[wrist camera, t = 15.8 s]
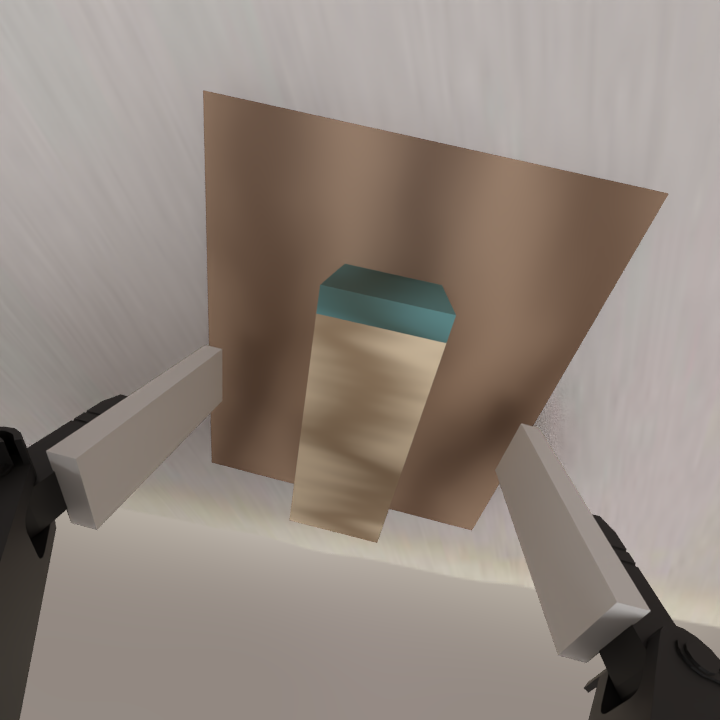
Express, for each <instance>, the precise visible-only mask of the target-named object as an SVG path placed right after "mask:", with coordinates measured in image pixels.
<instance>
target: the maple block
mask: <svg viewBox="0 0 720 720" xmlns="http://www.w3.org/2000/svg"><path fill="white" fill-rule="evenodd" d="M455 317H456V314H455V312H454V310H453V308H452V305H451V303H450V301H449V299H448V297H447V295H446V293H445V291H444V289H443V286H442V285H439V284H435V283H430V282H426V281H421V280H417V279H412V278H408V277H403V276H399V275H394V274H390V273H385V272H380V271H376V270H371V269H367V268H362V267H358V266H353V265H349V264H344V265H343V266H341V267H340V268H339V269H338V270H337V271H336V272H334V273H333V274H332V275H331V276H330V277H329V278H327V279H326V280H325V281H324V282H323V283H322V284H320V289H319V297H318V305H317V312H316V320H315V328H314V335H313V343H312V351H311V359H310V366H309V374H308V382H307V389H306V397H305V405H304V412H303V420H302V428H301V435H300V443H299V451H298V458H297V466H296V474H295V481H294V489H293V497H292V504H291V512H290V521H294V522H298V523H302V524H306V525H310V526H314V527H318V528H322V529H326V530H330V531H333V532H337V533H341V534H345V535H349V536H353V537H357V538H361V539H365V540H369V541H373V542H377V541H378V539H379V536H380V533H381V530H382V527H383V524H384V521H385V518H386V516H387V513H388V510H389V507H390V504H391V501H392V498H393V495H394V493H395V490H396V487H397V484H398V481H399V478H400V475H401V472H402V470H403V467H404V464H405V461H406V458H407V455H408V452H409V449H410V447H411V444H412V441H413V438H414V435H415V432H416V429H417V426H418V424H419V421H420V418H421V415H422V412H423V409H424V406H425V403H426V401H427V398H428V395H429V392H430V389H431V386H432V383H433V380H434V378H435V375H436V372H437V369H438V366H439V363H440V360H441V357H442V355H443V352H444V349H445V346H446V343H447V340H448V337H449V334H450V331H451V329H452V326H453V323H454V320H455Z"/></svg>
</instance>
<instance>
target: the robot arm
mask: <svg viewBox="0 0 720 720" xmlns="http://www.w3.org/2000/svg"><path fill="white" fill-rule="evenodd" d="M221 402H222V349H220V348H216V347H212V346H208V345H204V346H203V347H201V348H200V349H198V350H197V351H195V352H194V353H192V354H191V355H189V356H188V357H186V358H185V359H183V360H182V361H180V362H179V363H177V364H176V365H174V366H173V367H171V368H170V369H168V370H167V371H165V372H164V373H162V374H161V375H159V376H158V377H156V378H155V379H153V380H152V381H150V382H149V383H147V384H146V385H144V386H143V387H141V388H140V389H138V390H137V391H135V392H134V393H132V394H131V395H129V396H125V395H118V396H115V397H112V398H110V399H107V400H104V401H102V402H100V403H99V404H97V405H95V406H94V407H92V408H91V409H89V410H87V412H86V413H83V414H81V415H79V416H78V417H76V418H75V419H74V421H70V422H68V423H67V424H65V425H63V426H62V427H60V428H59V429H57V430H55V431H54V432H52V433H51V434H49V435H47V436H46V437H44V438H43V439H41V440H39V441H38V442H36V443H35V444H33V445H31V446H30V447H28V448H27V447H26V445H25V442H24V440H23V437H22V434H21V432H19V431H18V430H16V429H15V428H9V427H0V720H19V719H20V713H21V709H22V703H23V698H24V693H25V687H26V683H27V677H28V672H29V667H30V662H31V657H32V651H33V646H34V641H35V636H36V631H37V625H38V620H39V615H40V610H41V604H42V599H43V594H44V589H45V584H46V578H47V573H48V568H49V563H50V557H51V552H52V547H53V542H54V536H55V531H56V525H55V519H56V518H57V517H58V516H59V515H60V514H62V513H63V512H64V511H65V510H66V509H67V512H68V515H69V518H70V521H71V523H73V524H77V525H81V526H84V527H88V528H92V529H96V530H97V529H98V528H99V527H100V526H101V525H102V524H103V523H104V522H105V521H106V520H107V519H108V518H109V517H110V516H111V515H112V514H113V513H114V512H115V510H117V509H118V508H119V507H120V506H121V504H122V503H123V502H124V501H125V500H126V499H127V498H128V497H129V496H130V495H131V494H132V493H133V492H134V491H135V490H136V489H137V488H138V487H139V486H140V485H141V484H142V483H143V482H144V481H145V480H146V479H147V478H148V477H149V476H150V475H151V474H152V473H153V472H154V471H155V469H156V468H157V467H158V466H159V465H160V464H161V463H162V462H163V461H164V460H165V459H166V458H167V457H168V456H169V455H170V454H171V453H172V452H173V451H174V450H175V449H176V448H177V447H178V446H179V445H180V444H181V443H182V442H183V441H184V440H185V439H186V438H187V437H188V436H189V434H190V433H191V432H192V431H193V430H194V429H195V428H196V427H197V426H198V425H199V424H200V423H201V422H202V421H203V420H204V419H205V418H206V417H207V416H208V415H209V414H210V413H211V412H212V411H213V410H214V409H215V408H216V407H217V406H218V405H219V404H220V403H221ZM495 471H496V474H497V477H498V480H499V483H500V486H501V489H502V492H503V495H504V498H505V501H506V504H507V506H508V509H509V512H510V515H511V518H512V521H513V524H514V527H515V530H516V533H517V536H518V539H519V542H520V545H521V548H522V551H523V553H524V556H525V559H526V562H527V565H528V568H529V571H530V574H531V577H532V580H533V583H534V586H535V589H536V592H537V594H538V598H539V600H540V603H541V606H542V609H543V612H544V615H545V618H546V621H547V624H548V627H549V630H550V633H551V636H552V639H553V642H554V644H555V647H556V650H557V653H558V655H559V656H563V657H566V658H571V659H574V660H578V661H581V662H585V663H587V662H588V661H590V660H591V659H592V658H593V657H594V656H595V655H597V654H598V653H600V655H601V657H602V659H603V661H604V664H605V666H606V669H605V670H604V671H602V672H601V673H600V674H598V675H597V676H596V677H594V678H593V679H592V680H591V681H589V682H588V683H587V684H586V686H585V687H584V689H586V690H587V691H588V692H590V691H591V690H593V689H594V688H597V689H596V692H595V696H594V700H593V704H592V708H591V712H590V716H589V720H720V659H719V658H718V657H717V656H716V655H715V654H714V653H713V651H712V650H711V649H710V648H709V647H707V646H706V645H705V644H704V643H703V642H702V641H701V640H699V639H698V638H697V637H696V636H694V635H693V634H691V633H689V632H688V631H686V630H685V629H683V628H680V627H678V626H676V625H675V623H674V622H673V620H672V619H671V617H670V616H669V614H668V613H667V611H666V610H665V608H664V607H663V605H662V604H661V602H660V600H659V599H658V597H657V596H656V594H655V593H654V591H653V590H652V588H651V587H650V585H649V583H648V582H647V580H646V579H645V577H644V576H643V574H642V573H641V571H640V570H639V568H638V567H636V566H635V564H636V563H635V562H634V560H633V559H632V557H631V556H630V554H629V553H628V552H626V548H625V546H624V545H623V543H622V542H621V540H620V539H619V537H618V536H617V534H616V533H615V531H614V530H613V529H612V528H611V527H610V526H609V525H608V524H607V523H606V522H605V521H604V520H603V519H602V518H601V517H600V516H597V515H593V514H591V512H590V510H589V509H588V507H587V506H586V504H585V502H584V501H583V499H582V497H581V496H580V494H579V492H578V491H577V489H576V488H575V486H574V484H573V483H572V481H571V479H570V478H569V476H568V474H567V473H566V471H565V469H564V468H563V466H562V465H561V463H560V461H559V460H558V458H557V456H556V455H555V453H554V451H553V450H552V448H551V446H550V445H549V443H548V442H547V440H546V438H545V437H544V435H543V433H542V432H541V430H540V428H537V427H533V426H529V425H525V424H521V425H520V426H519V428H518V430H517V432H516V434H515V435H514V437H513V439H512V441H511V442H510V444H509V446H508V448H507V450H506V451H505V453H504V455H503V457H502V459H501V460H500V462H499V464H498V466H497V467H496V469H495Z"/></svg>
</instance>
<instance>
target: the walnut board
mask: <svg viewBox="0 0 720 720" xmlns="http://www.w3.org/2000/svg"><path fill="white" fill-rule="evenodd" d="M203 102H204V146H205V189H206V233H207V276H208V319H209V346H212V347H216V348H220V349H222V402H221V403H220V404H219V405H218V406H217V407H216V408H215V409H214V410H213V411H212V412H211V450H212V463H216V464H220V465H224V466H228V467H232V468H235V469H239V470H243V471H247V472H251V473H255V474H258V475H262V476H266V477H270V478H274V479H278V480H281V481H285V482H289V483H293V484H294V481H295V474H296V466H297V458H298V451H299V443H300V435H301V428H302V420H303V412H304V405H305V397H306V389H307V382H308V374H309V366H310V359H311V351H312V343H313V335H314V328H315V320H316V312H317V305H318V297H319V289H320V284H322V283H323V282H324V281H325V280H326V279H327V278H329V277H330V276H331V275H332V274H333V273H334V272H336V271H337V270H338V269H339V268H340V267H341V266H343V265H344V264H349V265H353V266H358V267H362V268H367V269H371V270H376V271H380V272H385V273H390V274H394V275H399V276H403V277H408V278H412V279H417V280H421V281H426V282H430V283H435V284H439V285H442V286H443V289H444V291H445V293H446V295H447V297H448V299H449V301H450V303H451V305H452V308H453V310H454V312H455V314H456V317H455V320H454V323H453V326H452V329H451V331H450V334H449V337H448V340H447V343H446V346H445V349H444V352H443V355H442V357H441V360H440V363H439V366H438V369H437V372H436V375H435V378H434V380H433V383H432V386H431V389H430V392H429V395H428V398H427V401H426V403H425V406H424V409H423V412H422V415H421V418H420V421H419V424H418V426H417V429H416V432H415V435H414V438H413V441H412V444H411V447H410V449H409V452H408V455H407V458H406V461H405V464H404V467H403V470H402V472H401V475H400V478H399V481H398V484H397V487H396V490H395V493H394V495H393V498H392V501H391V504H390V507H389V509H392V510H396V511H400V512H404V513H408V514H412V515H415V516H419V517H423V518H427V519H431V520H434V521H438V522H442V523H446V524H450V525H454V526H457V527H461V528H465V529H469V530H472V529H473V528H474V526H475V524H476V522H477V521H478V519H479V517H480V516H481V514H482V512H483V510H484V509H485V507H486V505H487V504H488V502H489V500H490V498H491V497H492V495H493V493H494V492H495V490H496V488H497V487H498V485H499V480H498V477H497V474H496V471H495V469H496V467H497V466H498V464H499V462H500V460H501V459H502V457H503V455H504V453H505V451H506V450H507V448H508V446H509V444H510V442H511V441H512V439H513V437H514V435H515V434H516V432H517V430H518V428H519V426H520V425H521V424H525V425H529V426H533V425H534V423H535V421H536V420H537V418H538V416H539V415H540V413H541V411H542V409H543V408H544V406H545V404H546V403H547V401H548V399H549V398H550V396H551V394H552V392H553V391H554V389H555V387H556V386H557V384H558V382H559V380H560V379H561V377H562V375H563V374H564V372H565V370H566V368H567V367H568V365H569V363H570V362H571V360H572V358H573V356H574V355H575V353H576V351H577V350H578V348H579V346H580V344H581V343H582V341H583V339H584V338H585V336H586V334H587V332H588V331H589V329H590V327H591V326H592V324H593V322H594V320H595V319H596V317H597V315H598V314H599V312H600V310H601V309H602V307H603V305H604V303H605V302H606V300H607V298H608V297H609V295H610V293H611V291H612V290H613V288H614V286H615V285H616V283H617V281H618V279H619V278H620V276H621V274H622V273H623V271H624V269H625V267H626V266H627V264H628V262H629V261H630V259H631V257H632V255H633V254H634V252H635V250H636V249H637V247H638V245H639V243H640V242H641V240H642V238H643V237H644V235H645V233H646V232H647V230H648V228H649V226H650V225H651V223H652V221H653V220H654V218H655V216H656V214H657V213H658V211H659V209H660V208H661V206H662V204H663V202H664V201H665V199H666V197H667V196H668V193H664V192H659V191H655V190H650V189H646V188H641V187H637V186H632V185H628V184H623V183H619V182H614V181H610V180H605V179H601V178H596V177H592V176H587V175H582V174H578V173H573V172H569V171H564V170H560V169H555V168H551V167H546V166H542V165H537V164H533V163H528V162H524V161H519V160H515V159H510V158H506V157H501V156H497V155H492V154H488V153H483V152H479V151H474V150H470V149H465V148H461V147H456V146H452V145H447V144H443V143H438V142H434V141H429V140H425V139H420V138H416V137H411V136H407V135H402V134H398V133H393V132H389V131H384V130H380V129H375V128H371V127H366V126H361V125H357V124H352V123H348V122H343V121H339V120H334V119H330V118H325V117H321V116H316V115H312V114H307V113H303V112H298V111H294V110H289V109H285V108H280V107H276V106H271V105H267V104H262V103H258V102H253V101H249V100H244V99H240V98H235V97H231V96H226V95H222V94H217V93H213V92H208V91H204V90H203Z"/></svg>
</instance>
